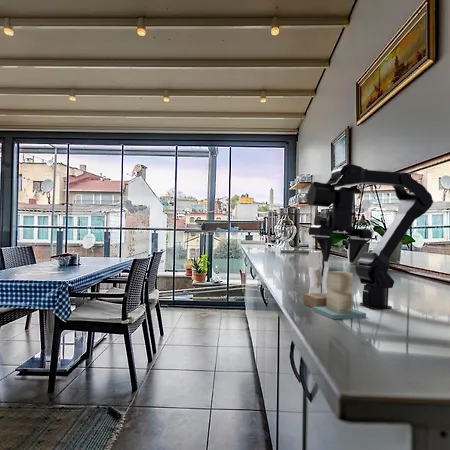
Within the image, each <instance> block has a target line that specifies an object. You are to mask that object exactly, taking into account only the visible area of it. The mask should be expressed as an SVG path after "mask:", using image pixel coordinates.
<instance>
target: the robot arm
mask: <svg viewBox="0 0 450 450" xmlns="http://www.w3.org/2000/svg"><path fill="white" fill-rule="evenodd" d="M361 184H363V185H373V186H374V185H375V186H376V185H377V186H389V187H392V188H393V189H394V192H395V196H396V197H397V199H398V200H399V203H398V205H397V206H398V213H397V214H396V216H395V218H394V219H393V220H392V222H391V224H390V225H389V226H388V229H386V231H385V233H384V234H383V236H381V238H380V240H379V242H378V243H377V244H376V246H375V248H374V249H373V250H372V251H369V252H368V251H363V252H362V253H361V256H360V258H359V259H358V260H357V261H355V260H356V259H357V257H358V255H359V253H360V252H361V250H362V249H363V247H364V246H365V244H367V243H368V242H369V240H373V232H372V230H371V229H367V228H366V229H365V228H356V227H355V226H353V217H356V216H357V215H356V214H357V212H355V211H354V200H355V195H359V194H362V191H361V189H360V188H358V187H357V185H361ZM346 186H350V187H346ZM336 188H339V189H336ZM407 190H408V191H409V192H408V191H407ZM306 203H307V205H308V206H312V207H323V208H324V207H325V208H329V207H330V206H332V208H331V211H329V212H328V214H327V215H328V216H326V217H323V216H320V215H316V216H315V217H314V218H313V225H311V226H310V227H309V228H308V235H311V236H312V237H311V238H313V239H315V240H316V242H318V245H319V248H320V251H322V255H323V258H324V261H325V262H328V259H329V260H330V255H331V250H332V245H333V240H334V238H333V237H331V236H346V237H347V236H348V237H349V238H347V242H348V243H349V251H348V253H349V254H348V259H349V263H354V262H356V266H355V271H356V272H355V273H356V275H357V276H358V278H359V281H360V284H363V289H362V298H361V299H362V302H359V305H361V306H363V307H367V308H370V309H373V310H377V309H379V310H382V309H393V306H392V305H389V289H393V287H394V284H395V280H394V279H393V278H392V277H391V275H390V274H389V273H388V271H389V270H390V260H391V258H392V255H393V254H394V252H395V251H396V249H397V248H398V246H399V244H400V243H401V241H402V240H403V238H405V235H406V234H407V232H408V231H409V229H410V228H411V227H412V225H413V223H414V222H415V221H416V220H417V219H419V218H420V217H421V216H423V215H425V214H426V213H427V212H428V210H430V209H431V207H432V206H433V205H434V199H433V196H432V194H431V193H430V192H429V190H428V189H427V188H426V187H425V186H424V185H423V184H421V183H420V182H418V181H416V180H415V179H414V178H413V177H412V176H411V174H410V173H408V172H405V171H403V172H396V171H395V172H394V171H387V170H385V171H384V170H383V171H382V170H371V169H366V168H364V167H362V166H360V165H356V164H353V163H346V164H344V165H341V166H337V167H335V168H334V169H333V170H332V172H331V176H330V177H329V179H328V180H327V181H326V182H324V183H323V182H319V181H312V182H311V183H310V187H309V189H308V190H307V194H306Z"/></svg>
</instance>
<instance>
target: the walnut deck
mask: <svg viewBox="0 0 450 450" xmlns="http://www.w3.org/2000/svg"><path fill="white" fill-rule="evenodd" d="M326 302H327V292H326V293H312V294H309V293H303V303H302V304H303V305H306V306H308V307H310V308H312V309H313V307H326Z"/></svg>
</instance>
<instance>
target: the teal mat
mask: <svg viewBox="0 0 450 450" xmlns="http://www.w3.org/2000/svg"><path fill="white" fill-rule="evenodd" d="M312 311H313V312H316V313H318V314H320V315H322V316H325V317H327V318H328V319H331V320H339V319H340V320H343V319H359V318H360V319H361V318H367V313H365V312H363V311H360V310H357V309H354V308H352V311H350V312H341V313H338V312H335V311H332V310H328V309H326V307H313V308H312Z"/></svg>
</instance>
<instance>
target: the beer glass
mask: <svg viewBox="0 0 450 450" xmlns="http://www.w3.org/2000/svg"><path fill="white" fill-rule="evenodd" d="M329 267H330V258H329V259H328V262H325V261H324V258H323V255H322V251H321V250H309V251H308V259H307V268H308V271H307V272H308V276H309V290H308V294H312V293H327V272H328V271H329Z"/></svg>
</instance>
